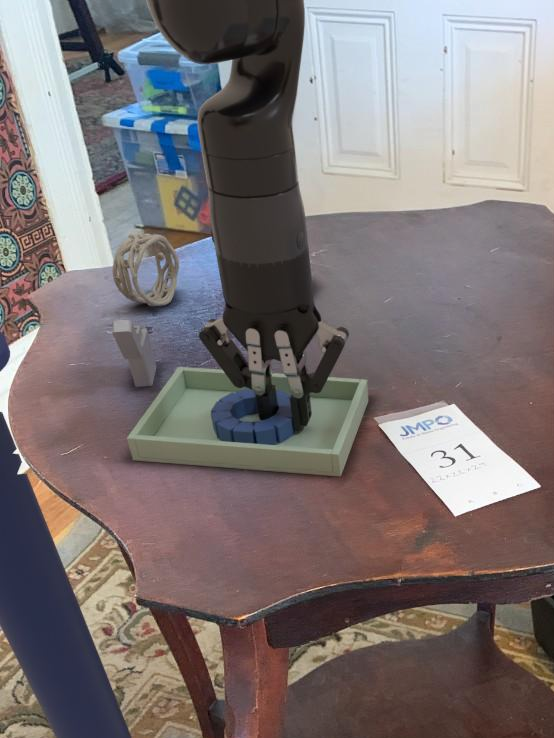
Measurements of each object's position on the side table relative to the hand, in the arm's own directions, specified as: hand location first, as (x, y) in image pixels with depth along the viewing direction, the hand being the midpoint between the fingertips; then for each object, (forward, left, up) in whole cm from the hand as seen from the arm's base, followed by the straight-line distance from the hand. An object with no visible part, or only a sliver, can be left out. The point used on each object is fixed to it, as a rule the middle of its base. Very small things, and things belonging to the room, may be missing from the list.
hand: (286, 425), depth 81 cm
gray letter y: (-17, +7, -1) cm, 18 cm away
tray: (-3, 0, -1) cm, 3 cm away
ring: (-3, 0, 0) cm, 3 cm away
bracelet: (-23, +26, -1) cm, 35 cm away
